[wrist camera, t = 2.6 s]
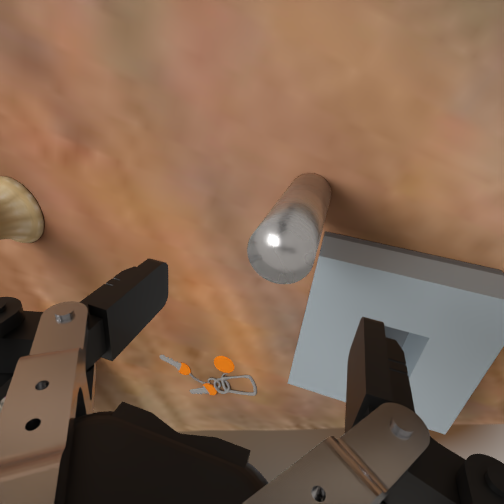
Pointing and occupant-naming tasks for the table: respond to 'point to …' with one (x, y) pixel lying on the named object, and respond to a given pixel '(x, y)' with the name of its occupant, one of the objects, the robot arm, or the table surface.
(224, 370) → the key chain
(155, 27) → the table surface
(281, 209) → the pin
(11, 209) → the hand bell
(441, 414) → the bore block
